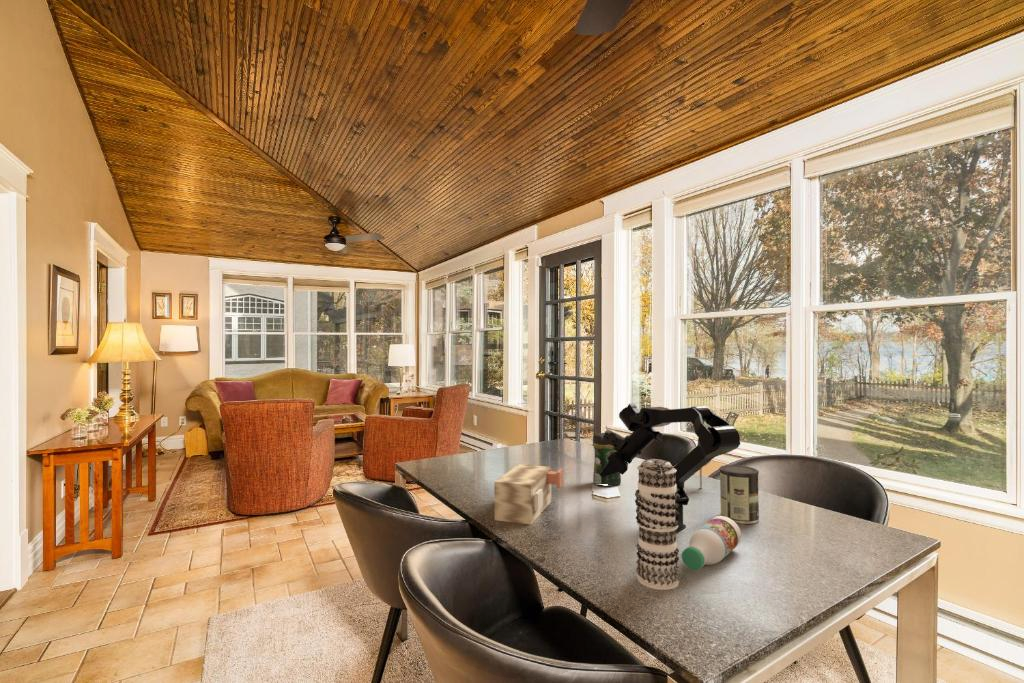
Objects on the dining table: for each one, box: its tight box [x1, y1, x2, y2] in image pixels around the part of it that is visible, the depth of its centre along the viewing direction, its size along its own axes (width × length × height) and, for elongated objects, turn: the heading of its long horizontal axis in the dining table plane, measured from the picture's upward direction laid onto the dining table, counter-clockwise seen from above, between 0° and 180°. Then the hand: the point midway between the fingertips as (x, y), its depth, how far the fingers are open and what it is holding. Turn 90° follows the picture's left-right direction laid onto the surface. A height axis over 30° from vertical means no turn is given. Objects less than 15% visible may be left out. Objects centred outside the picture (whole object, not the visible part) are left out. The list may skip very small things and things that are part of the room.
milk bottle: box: [681, 515, 742, 571], centre depth 110 cm, size 8×8×20 cm
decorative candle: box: [634, 458, 680, 591], centre depth 101 cm, size 9×9×25 cm
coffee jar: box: [592, 432, 622, 486], centre depth 173 cm, size 10×8×19 cm
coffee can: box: [718, 464, 760, 525], centre depth 138 cm, size 10×10×14 cm
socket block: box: [493, 463, 552, 526], centre depth 145 cm, size 11×22×11 cm, turn 161°
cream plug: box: [533, 489, 543, 511], centre depth 137 cm, size 12×5×5 cm, turn 71°
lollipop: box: [690, 445, 711, 489], centre depth 167 cm, size 7×7×15 cm
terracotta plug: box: [547, 468, 564, 489], centre depth 151 cm, size 12×5×5 cm, turn 71°
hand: (600, 475), depth 144 cm, fingers closed
